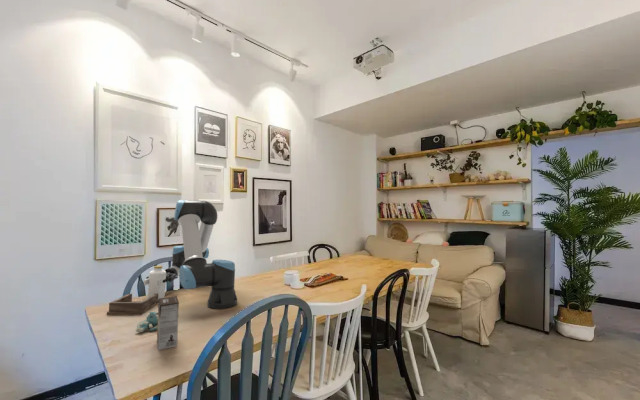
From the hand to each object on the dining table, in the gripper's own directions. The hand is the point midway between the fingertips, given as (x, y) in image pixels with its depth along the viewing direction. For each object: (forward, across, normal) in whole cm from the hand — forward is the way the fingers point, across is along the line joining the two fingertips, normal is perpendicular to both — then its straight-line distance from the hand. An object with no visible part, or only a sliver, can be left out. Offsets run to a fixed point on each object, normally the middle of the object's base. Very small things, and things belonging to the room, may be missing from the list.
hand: (151, 282), depth 153 cm
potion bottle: (-5, 0, -10) cm, 11 cm away
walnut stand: (+10, +2, -10) cm, 15 cm away
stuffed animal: (+35, -18, -10) cm, 40 cm away
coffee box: (+49, -31, -10) cm, 59 cm away
